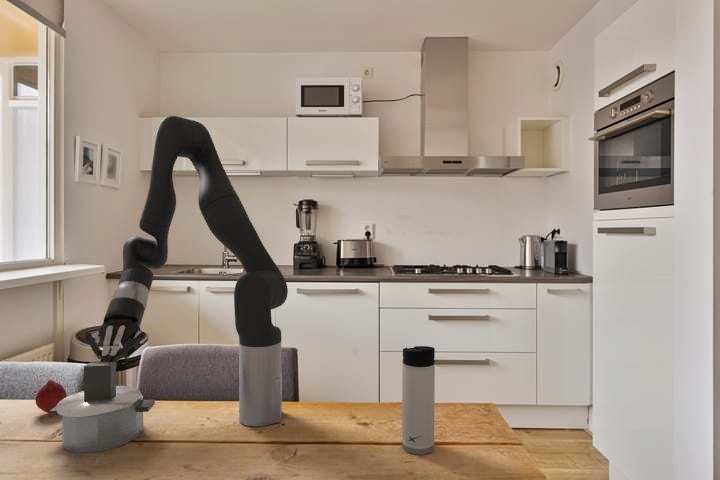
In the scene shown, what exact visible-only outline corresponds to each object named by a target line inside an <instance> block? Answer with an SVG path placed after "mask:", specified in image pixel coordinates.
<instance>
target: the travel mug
mask: <svg viewBox="0 0 720 480" xmlns="http://www.w3.org/2000/svg"><path fill="white" fill-rule="evenodd" d="M435 350H436V348H435V347H433V346H426V345H417V346H416V345H415V346H414V347H404V348H403V349H402V364H401V365H402V371H401V373H402V377H401V378H402V379H401V380H402V381H401V410H402V411H401V447H402V449H403V450H404V451H405V452H407V453H410V454H413V455H420V456H421V455H423V456H424V455H427V454H430V453H431V452H433V451H434V449H435V394H436V393H435V391H436V387H435V385H436V384H435V382H436V381H435V380H436V379H435V375H436V374H435V372H436V369H435V367H436V365H435V364H436V363H435V362H436V361H435V358H436V357H435V355H436V354H435Z"/></svg>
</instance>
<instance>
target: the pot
mask: <svg viewBox="0 0 720 480" xmlns="http://www.w3.org/2000/svg"><path fill="white" fill-rule="evenodd" d="M155 403H156V399H153V398H152V399H144V396H143V394H142V393H141V398H140V400H139V401H138V402H137V403H135V404H134V405H132V406H130V407H128V408H126V409H123V410H120V411H117V412H114V413H110V414H106V415H101V416H95V417H85V418H72V417H65V416H61V417H62V418H61V419H62V420H61V421H62V422H61V424H62V425H61V426H62V428H61V430H62V446H63V450H67V451H69V452H74V453H77V454H78V453H79V454H80V453H99V452H101V451H103V452H104V451H106V450H109V449H110V450H111V449H114V448H118V447H121V446H123V445H125V444H127V443H128V442H131V441H133V440H135V439H137V438H138V437H139V435H141V433H142V432H143V431H144V413H145V412H147V413H149V411H150V410H151V409H152V408H153V407H154V406H155V405H156V404H155ZM53 416H56V417H57V416H60V415H59V414H58V413H57V406H56V407H54V408H53V409H51V410H50V414H49V417H53Z"/></svg>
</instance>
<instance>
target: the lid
mask: <svg viewBox="0 0 720 480" xmlns="http://www.w3.org/2000/svg"><path fill="white" fill-rule="evenodd" d="M141 394H142V392H141V390H140V389H138V388H137V387H133V386H129V385H128V386H127V385H117V365H116V362H100V361H99V362H98V361H96V362H88V363H87V364H86V365H83V390H81V391H79V392H75V393H73V394H70V395H68V396H66V398H64V399H62V400H61V401H60V402H59V403H58V404H57V413H58V414H59V415H58V416H61V417H62V416H65V417H72V418H85V417H95V416H101V415H106V414H110V413H114V412H117V411H120V410H123V409H126V408H128V407H130V406H132V405H134V404H135V403H137V402H138V401H139V400H140V398H141Z"/></svg>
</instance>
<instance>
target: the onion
mask: <svg viewBox="0 0 720 480" xmlns="http://www.w3.org/2000/svg"><path fill="white" fill-rule="evenodd" d="M66 397H68V396H67V391H66V389H65V388H64V386H63V385H62V384H61V383H59V382H56V381H55V380H53V378H48V379H47V382H46V383H45V384H44V385H43V386H42V387H41V388H40V389H39V390H38V391H37V393H36V395H35V405H36V406H37V407H38V408H39V409H40V410H41V411H43V412H45V413H47V414H49V413H50V410H51V409H53V408H54V407H56V406H57V404H58V403H59V402H60V401H61V400H62V399H64V398H66Z"/></svg>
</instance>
